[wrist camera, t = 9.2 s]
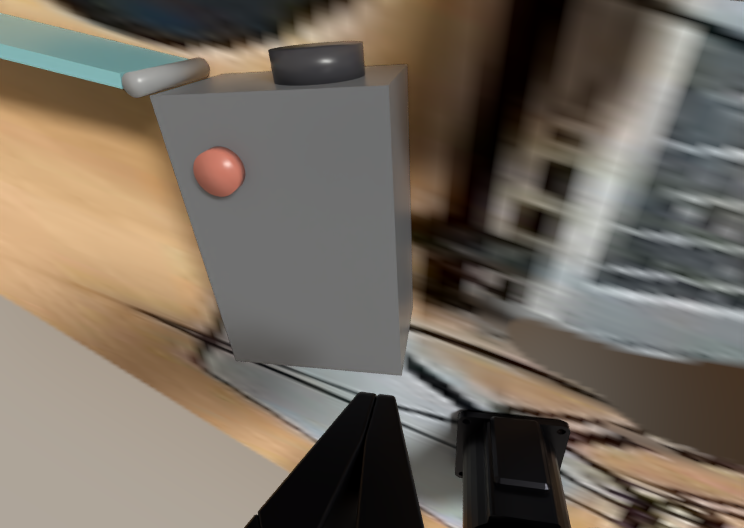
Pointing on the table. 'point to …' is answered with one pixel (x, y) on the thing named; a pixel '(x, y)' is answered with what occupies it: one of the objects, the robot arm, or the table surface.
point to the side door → (95, 57)
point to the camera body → (301, 204)
